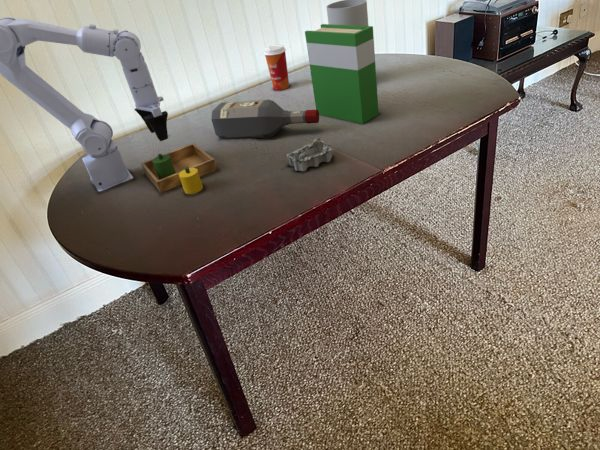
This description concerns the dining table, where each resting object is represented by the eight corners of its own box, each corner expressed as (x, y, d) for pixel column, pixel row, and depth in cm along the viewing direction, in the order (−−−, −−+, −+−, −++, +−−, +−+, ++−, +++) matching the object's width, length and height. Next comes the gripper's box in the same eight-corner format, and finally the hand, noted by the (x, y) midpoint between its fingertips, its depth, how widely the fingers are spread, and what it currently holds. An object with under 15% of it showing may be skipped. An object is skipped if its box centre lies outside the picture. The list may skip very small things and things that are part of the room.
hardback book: (316, 114, 141) (304, 31, 128) (332, 105, 145) (322, 24, 131) (362, 123, 130) (354, 34, 116) (378, 113, 134) (372, 26, 120)
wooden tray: (161, 194, 115) (156, 182, 113) (145, 175, 125) (140, 163, 123) (217, 171, 120) (214, 159, 118) (197, 154, 131) (193, 142, 129)
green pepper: (166, 182, 119) (157, 160, 115) (155, 178, 121) (146, 157, 118) (179, 173, 121) (172, 151, 118) (169, 170, 124) (161, 149, 120)
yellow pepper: (189, 198, 111) (180, 174, 108) (182, 191, 115) (174, 168, 111) (206, 190, 113) (199, 167, 109) (199, 184, 116) (192, 161, 113)
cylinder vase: (330, 82, 163) (320, 5, 149) (363, 73, 165) (356, -4, 151) (343, 92, 153) (334, 10, 139) (378, 82, 155) (373, 1, 141)
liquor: (228, 128, 143) (323, 124, 134) (217, 142, 136) (316, 138, 127) (221, 100, 138) (319, 93, 129) (208, 112, 131) (311, 106, 122)
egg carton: (323, 150, 121) (321, 135, 118) (336, 160, 115) (334, 145, 112) (285, 162, 118) (283, 148, 116) (297, 174, 112) (294, 159, 110)
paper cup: (267, 88, 168) (259, 48, 160) (286, 82, 170) (280, 42, 163) (275, 93, 162) (268, 52, 154) (295, 87, 164) (288, 46, 156)
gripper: (165, 85, 110) (182, 137, 118) (148, 74, 121) (165, 123, 128) (136, 94, 107) (156, 147, 115) (121, 82, 118) (140, 132, 126)
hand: (159, 135), depth 122 cm, fingers open, 7 cm apart
